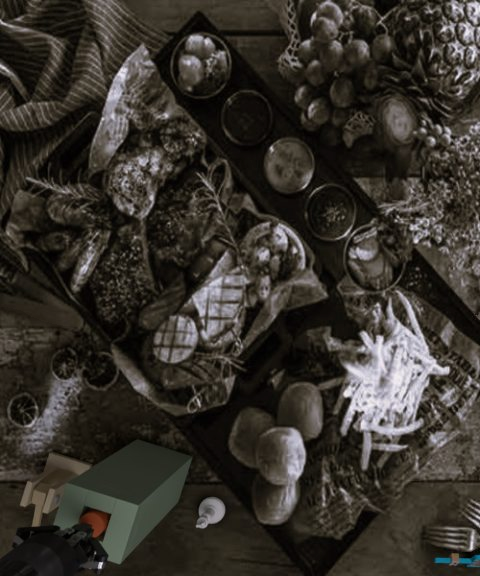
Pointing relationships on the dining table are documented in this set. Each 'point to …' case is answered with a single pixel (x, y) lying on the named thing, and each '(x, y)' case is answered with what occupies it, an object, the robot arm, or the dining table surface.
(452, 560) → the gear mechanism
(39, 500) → the lever
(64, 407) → the dining table surface
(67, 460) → the switch bracket
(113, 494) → the button post
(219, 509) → the chess piece
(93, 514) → the button
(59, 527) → the robot arm
